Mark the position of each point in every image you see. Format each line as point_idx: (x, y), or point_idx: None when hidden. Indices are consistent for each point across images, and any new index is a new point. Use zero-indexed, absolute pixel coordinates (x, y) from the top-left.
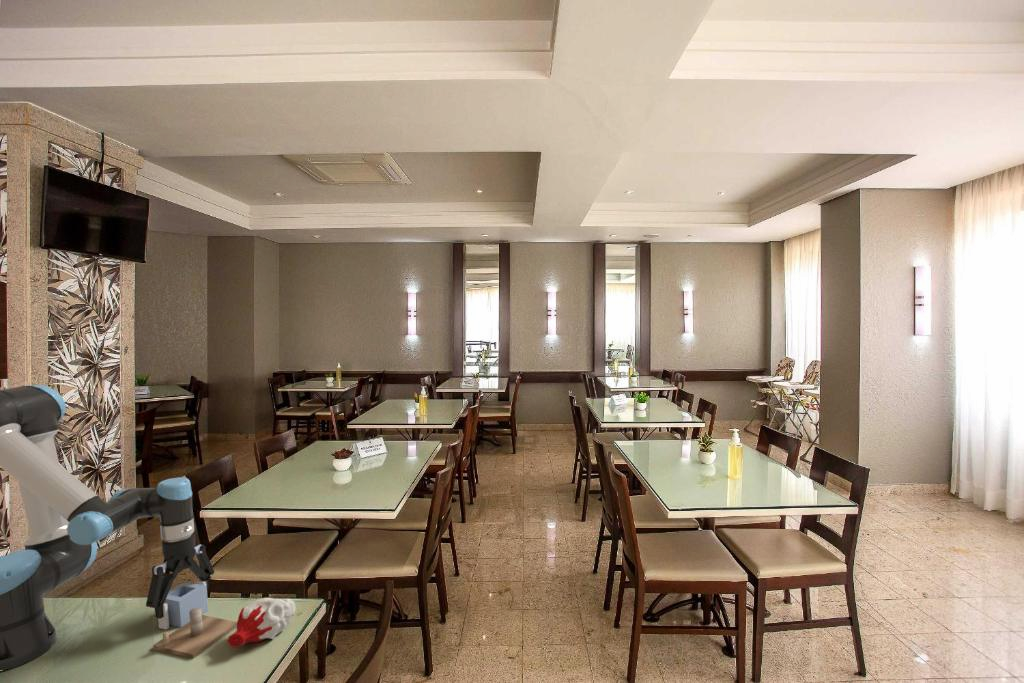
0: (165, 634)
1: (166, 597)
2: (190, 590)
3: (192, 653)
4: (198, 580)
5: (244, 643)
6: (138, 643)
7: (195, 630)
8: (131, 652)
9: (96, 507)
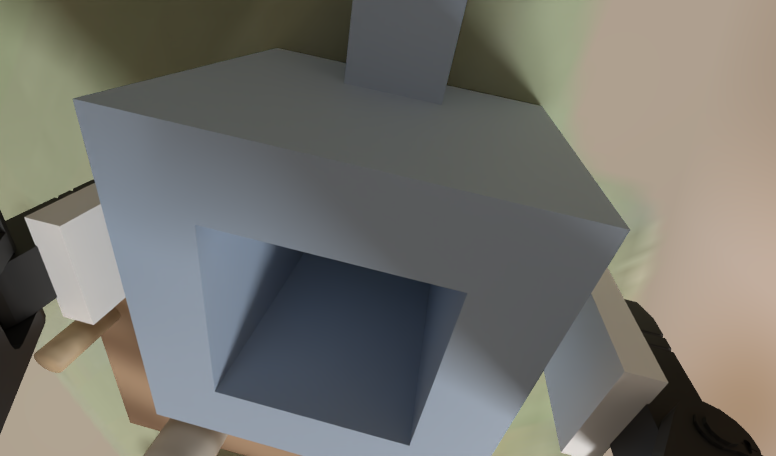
0: (44, 367)
1: (17, 384)
2: (434, 348)
3: (132, 419)
4: (650, 384)
5: None
6: (68, 106)
7: None
8: (11, 136)
9: None
